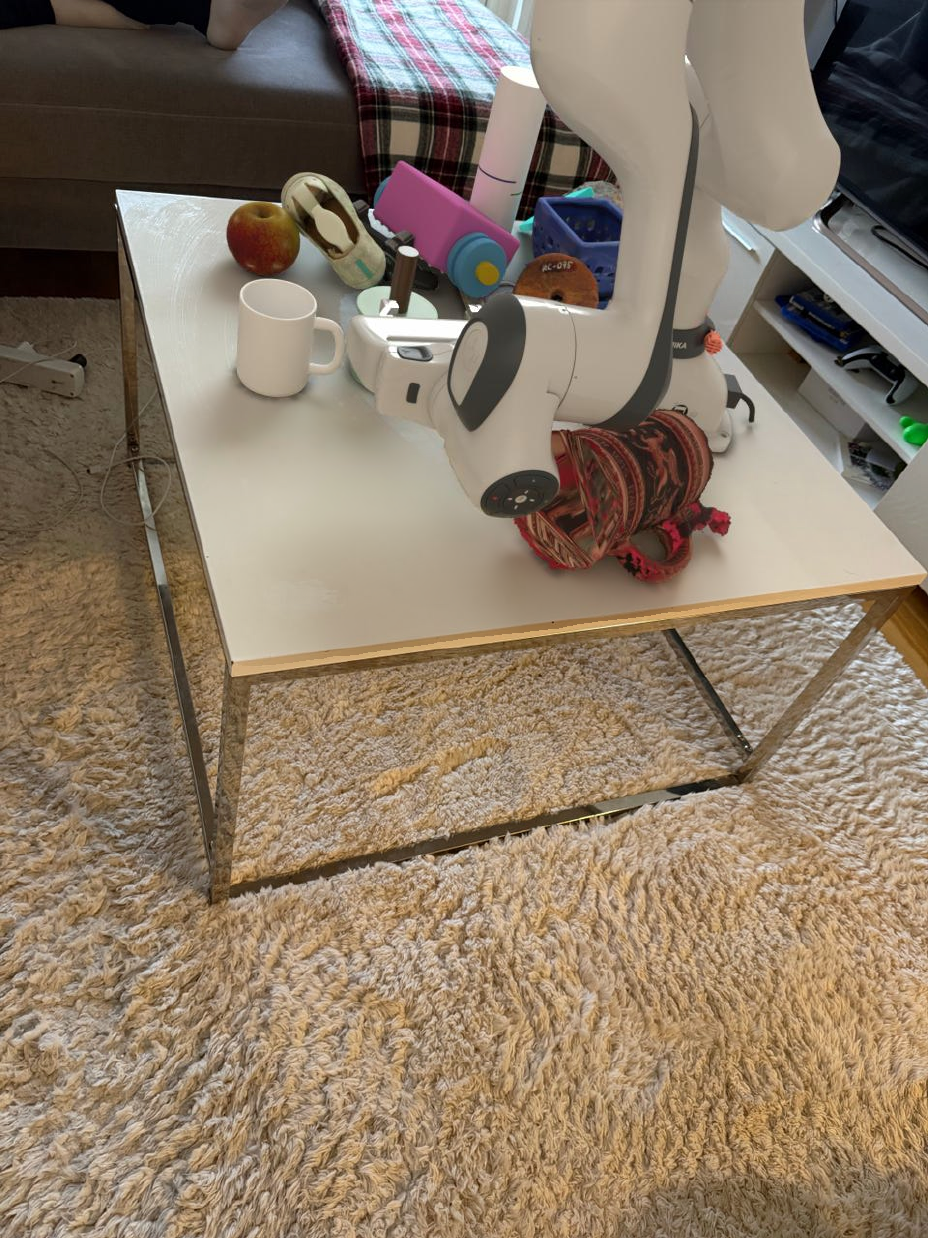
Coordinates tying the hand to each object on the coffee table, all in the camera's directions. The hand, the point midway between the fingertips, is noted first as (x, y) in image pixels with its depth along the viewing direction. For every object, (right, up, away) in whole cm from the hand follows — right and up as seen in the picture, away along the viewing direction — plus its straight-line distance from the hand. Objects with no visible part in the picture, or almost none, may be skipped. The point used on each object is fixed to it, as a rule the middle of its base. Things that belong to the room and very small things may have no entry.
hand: (429, 307), depth 93 cm
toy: (-4, +22, +26) cm, 35 cm away
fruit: (-24, +15, +26) cm, 38 cm away
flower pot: (+20, +16, +41) cm, 48 cm away
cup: (-17, -5, +11) cm, 21 cm away
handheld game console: (+17, +31, +44) cm, 57 cm away
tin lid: (-4, +3, +11) cm, 12 cm away
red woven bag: (+16, -12, +7) cm, 21 cm away
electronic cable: (+9, +15, +35) cm, 40 cm away
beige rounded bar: (+4, +12, +32) cm, 34 cm away
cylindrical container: (+6, +24, +44) cm, 50 cm away
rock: (+28, +28, +55) cm, 68 cm away
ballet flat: (-13, +19, +26) cm, 35 cm away
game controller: (-8, +16, +33) cm, 38 cm away
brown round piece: (+16, +11, +27) cm, 34 cm away
